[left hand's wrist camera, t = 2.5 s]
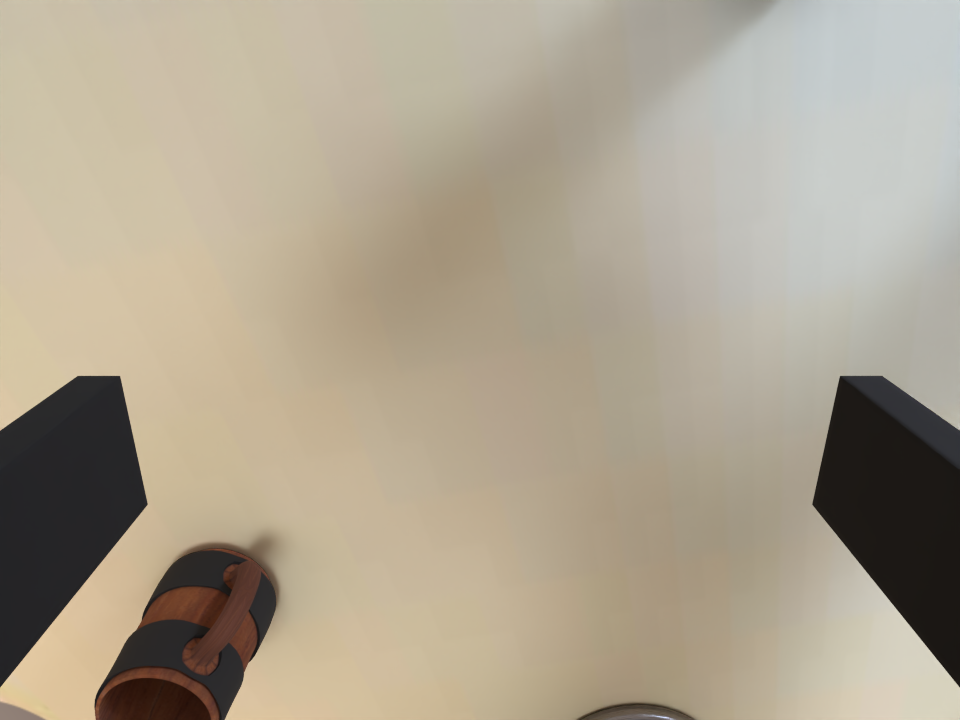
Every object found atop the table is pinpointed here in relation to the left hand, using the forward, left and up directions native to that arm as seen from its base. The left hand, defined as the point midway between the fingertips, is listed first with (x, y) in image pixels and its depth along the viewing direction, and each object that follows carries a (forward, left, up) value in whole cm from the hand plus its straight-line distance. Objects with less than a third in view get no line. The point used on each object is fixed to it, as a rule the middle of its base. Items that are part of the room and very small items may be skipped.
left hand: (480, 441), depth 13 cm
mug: (-28, +19, -31) cm, 46 cm away
